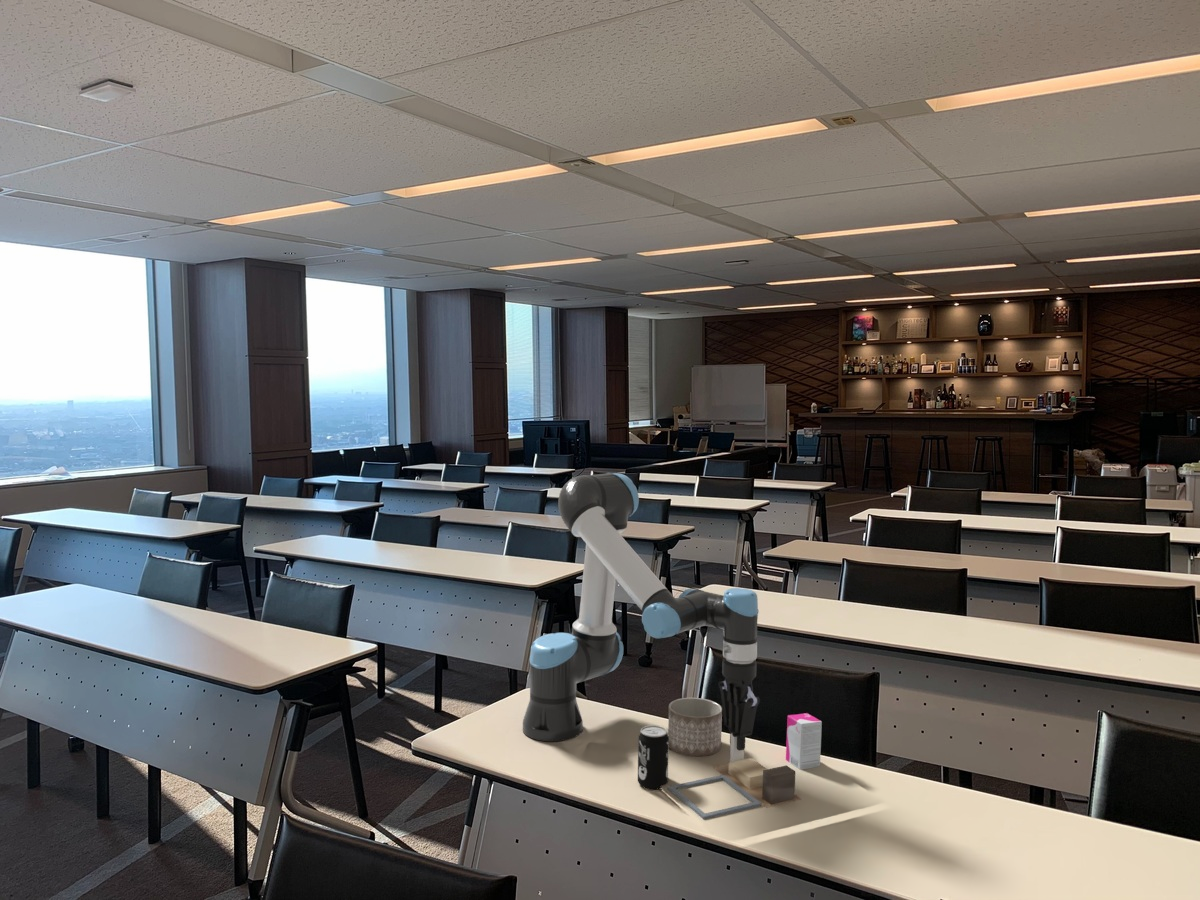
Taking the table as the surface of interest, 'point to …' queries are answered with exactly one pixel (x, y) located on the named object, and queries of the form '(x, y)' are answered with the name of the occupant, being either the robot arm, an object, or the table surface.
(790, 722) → the supplement box
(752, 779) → the beige wooden block
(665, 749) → the beverage can
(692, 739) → the planter
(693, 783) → the picture frame
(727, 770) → the brown boxy piece
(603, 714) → the table surface
